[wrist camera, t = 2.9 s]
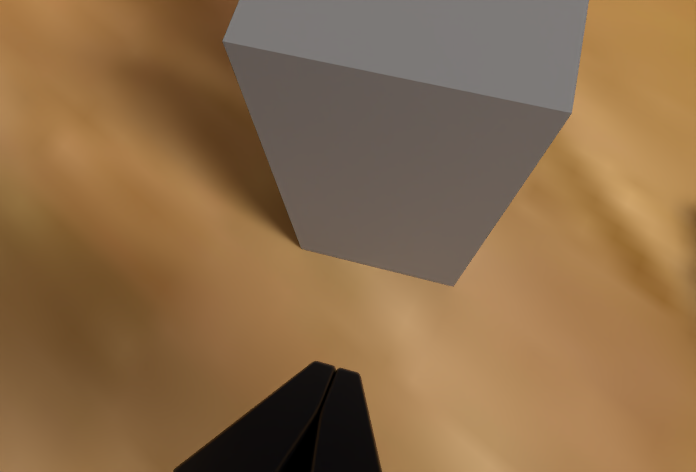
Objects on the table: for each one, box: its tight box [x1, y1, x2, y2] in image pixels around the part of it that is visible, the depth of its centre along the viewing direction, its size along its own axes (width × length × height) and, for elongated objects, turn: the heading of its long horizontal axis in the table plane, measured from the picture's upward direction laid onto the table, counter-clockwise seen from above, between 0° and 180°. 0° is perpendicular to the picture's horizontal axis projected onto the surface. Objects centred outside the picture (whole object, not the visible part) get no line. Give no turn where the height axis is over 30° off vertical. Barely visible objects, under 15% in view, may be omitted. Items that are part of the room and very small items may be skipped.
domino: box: [223, 0, 589, 286], centre depth 12 cm, size 2×5×10 cm, turn 75°
